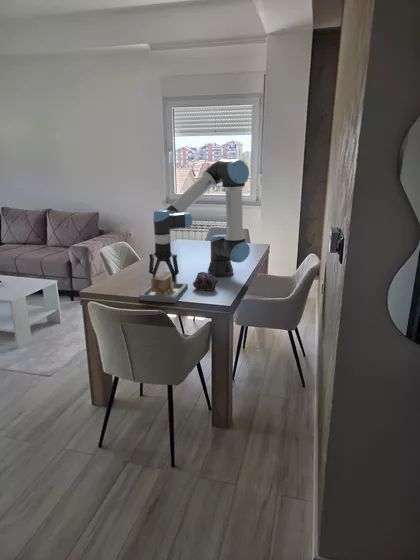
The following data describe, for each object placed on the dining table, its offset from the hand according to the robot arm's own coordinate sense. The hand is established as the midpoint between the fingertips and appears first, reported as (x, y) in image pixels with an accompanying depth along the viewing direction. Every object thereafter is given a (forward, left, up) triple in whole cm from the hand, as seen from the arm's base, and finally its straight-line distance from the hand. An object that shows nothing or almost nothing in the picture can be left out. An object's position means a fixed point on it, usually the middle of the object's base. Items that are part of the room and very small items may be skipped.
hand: (164, 287), depth 191 cm
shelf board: (0, 0, -1) cm, 1 cm away
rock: (-19, -12, -4) cm, 22 cm away
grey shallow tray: (0, 0, -4) cm, 4 cm away
